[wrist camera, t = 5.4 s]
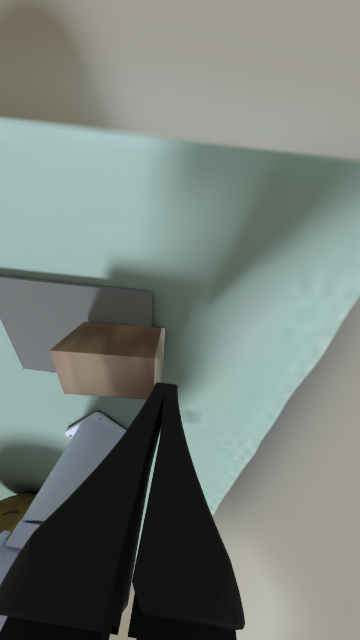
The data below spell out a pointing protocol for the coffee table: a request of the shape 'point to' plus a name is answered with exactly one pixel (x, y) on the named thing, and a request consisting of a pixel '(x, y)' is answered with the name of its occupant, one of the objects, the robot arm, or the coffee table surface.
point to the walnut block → (110, 360)
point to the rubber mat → (63, 313)
